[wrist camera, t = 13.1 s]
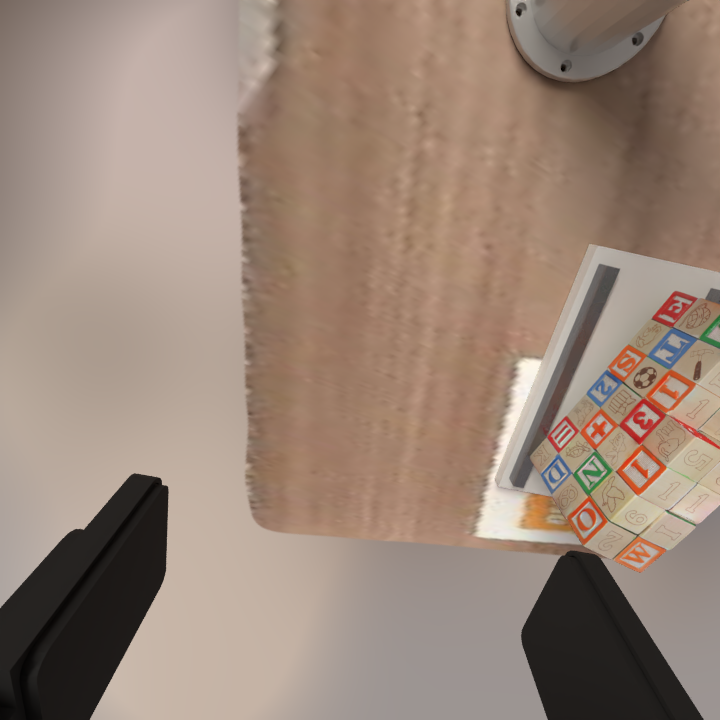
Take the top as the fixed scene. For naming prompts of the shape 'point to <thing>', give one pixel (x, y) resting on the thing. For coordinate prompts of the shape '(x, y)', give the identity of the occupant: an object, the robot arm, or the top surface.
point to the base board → (593, 343)
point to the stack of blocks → (644, 440)
